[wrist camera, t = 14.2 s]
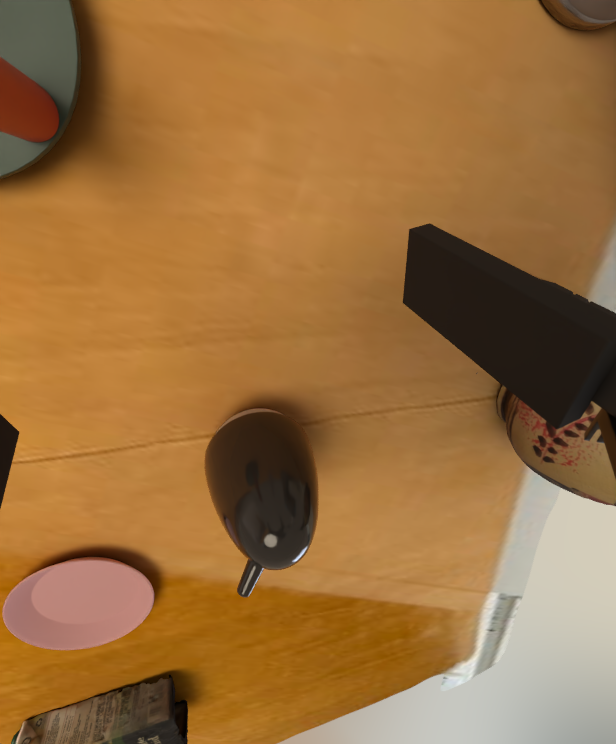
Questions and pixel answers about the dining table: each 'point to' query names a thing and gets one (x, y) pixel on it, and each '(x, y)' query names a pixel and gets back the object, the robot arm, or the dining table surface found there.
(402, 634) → the dining table surface
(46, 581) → the plate
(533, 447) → the ceramic jug
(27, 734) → the juice carton
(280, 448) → the pump dispenser
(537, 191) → the dining table surface
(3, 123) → the drying rack
